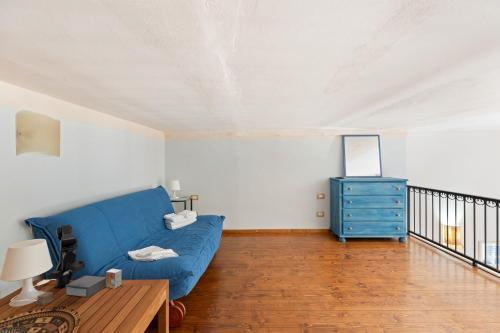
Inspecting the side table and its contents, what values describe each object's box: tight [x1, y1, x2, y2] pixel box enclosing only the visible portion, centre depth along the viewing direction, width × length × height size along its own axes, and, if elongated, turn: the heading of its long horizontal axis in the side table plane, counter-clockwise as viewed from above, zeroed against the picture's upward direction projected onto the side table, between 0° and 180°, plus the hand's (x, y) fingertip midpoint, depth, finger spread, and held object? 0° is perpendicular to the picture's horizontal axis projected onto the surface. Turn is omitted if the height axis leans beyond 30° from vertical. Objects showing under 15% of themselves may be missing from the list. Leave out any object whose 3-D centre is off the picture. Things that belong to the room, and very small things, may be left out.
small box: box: [105, 268, 123, 290], centre depth 161 cm, size 8×6×10 cm
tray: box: [67, 287, 87, 298], centre depth 155 cm, size 14×14×4 cm
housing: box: [65, 275, 107, 298], centre depth 156 cm, size 17×14×6 cm
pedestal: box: [36, 291, 54, 306], centre depth 140 cm, size 5×5×5 cm
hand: (67, 284), depth 142 cm, fingers closed
